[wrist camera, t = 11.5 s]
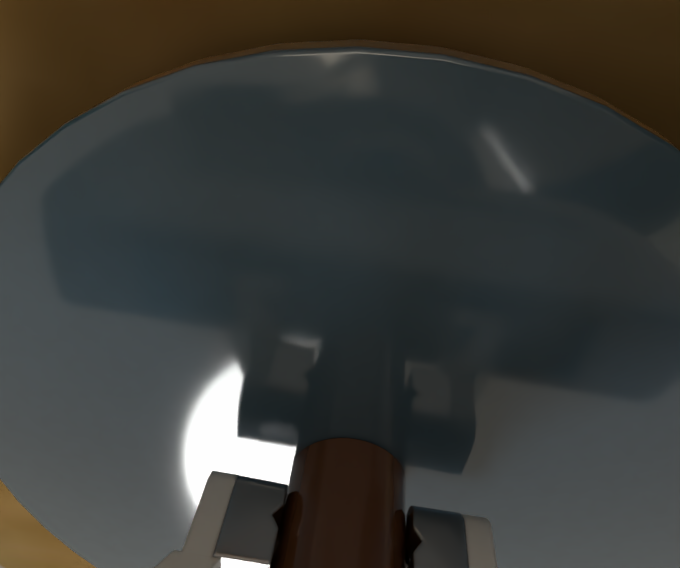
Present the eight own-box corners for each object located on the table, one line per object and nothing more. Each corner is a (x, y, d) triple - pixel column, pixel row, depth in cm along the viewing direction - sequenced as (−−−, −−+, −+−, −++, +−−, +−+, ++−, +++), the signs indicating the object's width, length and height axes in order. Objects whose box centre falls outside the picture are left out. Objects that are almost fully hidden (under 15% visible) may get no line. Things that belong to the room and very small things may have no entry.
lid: (1026, 136, 8) (1658, 355, 4) (577, 654, 17) (627, 871, 13) (-137, -59, 8) (-669, -38, 4) (51, 562, 17) (-52, 749, 13)
